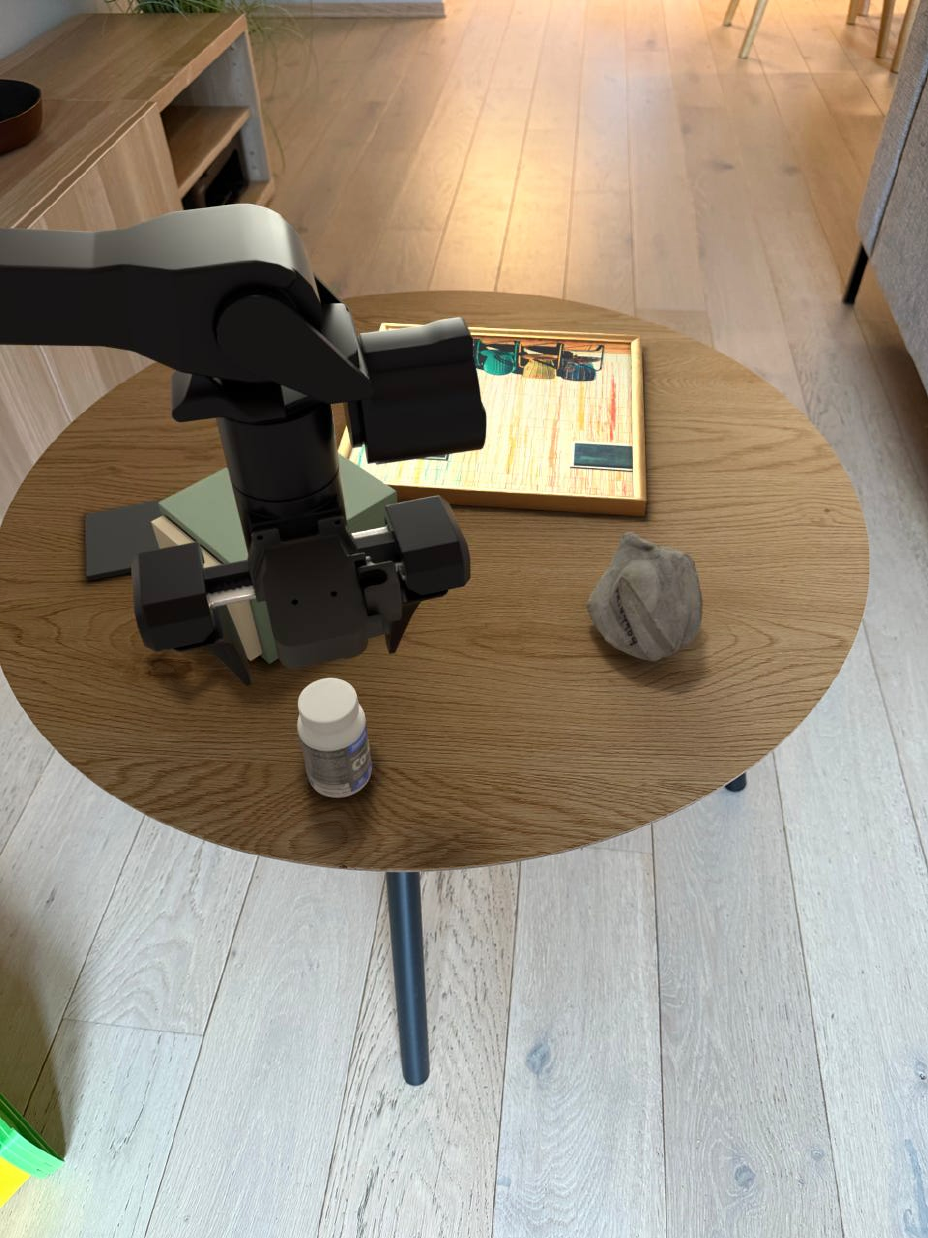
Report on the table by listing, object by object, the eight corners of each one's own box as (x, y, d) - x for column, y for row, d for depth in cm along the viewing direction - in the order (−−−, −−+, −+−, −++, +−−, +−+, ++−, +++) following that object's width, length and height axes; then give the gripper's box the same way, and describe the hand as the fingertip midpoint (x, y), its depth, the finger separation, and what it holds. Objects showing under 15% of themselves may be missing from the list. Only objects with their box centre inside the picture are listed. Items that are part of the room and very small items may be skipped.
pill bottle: (369, 800, 67) (358, 728, 61) (304, 799, 68) (286, 727, 62) (375, 746, 71) (365, 672, 65) (312, 745, 71) (297, 672, 65)
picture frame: (641, 334, 108) (646, 500, 88) (639, 349, 110) (644, 516, 89) (381, 322, 111) (327, 481, 90) (383, 337, 112) (329, 496, 92)
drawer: (206, 690, 74) (183, 620, 68) (130, 615, 79) (103, 546, 74) (378, 578, 82) (371, 509, 76) (298, 519, 88) (286, 450, 82)
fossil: (561, 602, 81) (568, 531, 75) (650, 570, 84) (662, 499, 78) (632, 692, 74) (645, 621, 68) (726, 654, 77) (747, 583, 71)
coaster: (88, 581, 84) (86, 576, 83) (86, 518, 90) (84, 513, 89) (191, 561, 85) (189, 556, 85) (182, 500, 91) (181, 495, 91)
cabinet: (269, 664, 77) (248, 578, 70) (184, 588, 83) (157, 502, 76) (403, 576, 84) (396, 490, 77) (315, 512, 90) (301, 427, 83)
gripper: (104, 610, 42) (183, 803, 53) (502, 530, 46) (497, 727, 57) (99, 465, 50) (169, 661, 61) (441, 406, 53) (447, 602, 64)
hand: (320, 664), depth 61 cm, fingers open, 9 cm apart
